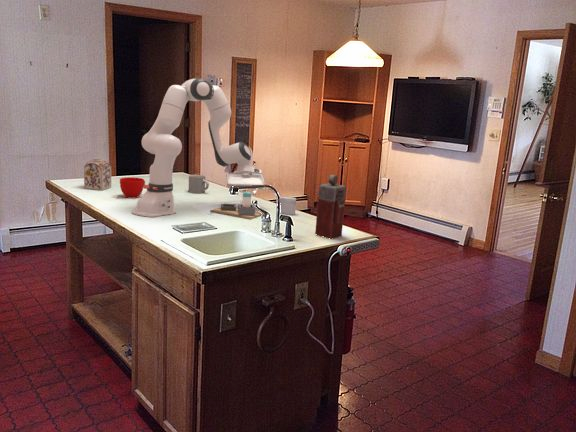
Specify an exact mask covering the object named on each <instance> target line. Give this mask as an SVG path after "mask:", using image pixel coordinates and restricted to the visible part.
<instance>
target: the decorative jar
mask: <svg viewBox="0 0 576 432" xmlns="http://www.w3.org/2000/svg"><path fill="white" fill-rule="evenodd" d="M83 187H84V189H85V190H93V191H105V190H107V189H108V190H109V189H110V188H112V165H111V163H109V161H107V160H103V158H102V157H94V158H93V159H92V160H88V161H86V163H85V165H83Z"/></svg>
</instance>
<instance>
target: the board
mask: <svg viewBox="0 0 576 432" xmlns="http://www.w3.org/2000/svg"><path fill="white" fill-rule="evenodd" d="M209 212H210V213H214V214H219V215H224V216H231V217H235V218H239V219H246V220H253V219H255V218H259V217H262V216H261V213H262V212H261V211H256V210H255V216H247V215H239V214H238V207H236V211H221V206H219V207H217V208H214V209H210V211H209ZM260 212H261V213H260Z"/></svg>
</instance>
